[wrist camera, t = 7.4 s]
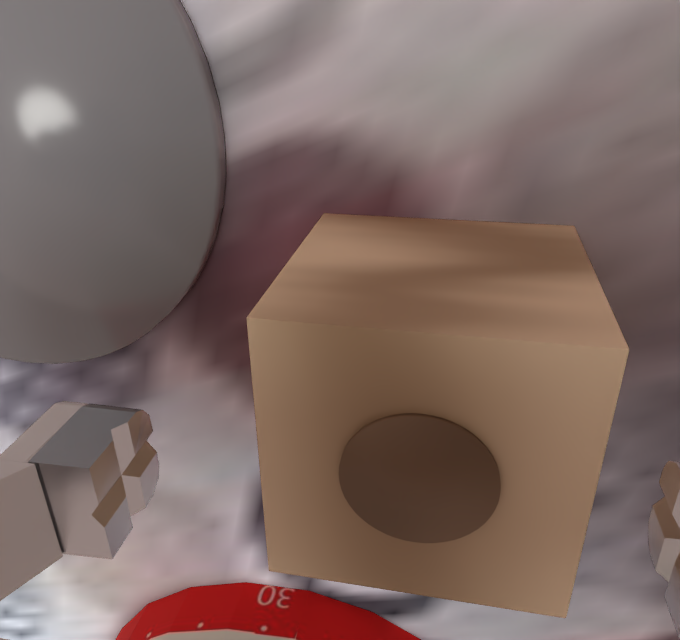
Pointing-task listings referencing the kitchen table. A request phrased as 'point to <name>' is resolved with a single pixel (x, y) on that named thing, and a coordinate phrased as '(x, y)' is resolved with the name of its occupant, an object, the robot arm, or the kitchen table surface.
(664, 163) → the kitchen table surface
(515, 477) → the oak block
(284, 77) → the kitchen table surface
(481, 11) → the kitchen table surface
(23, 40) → the coaster
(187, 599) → the kitchen timer
